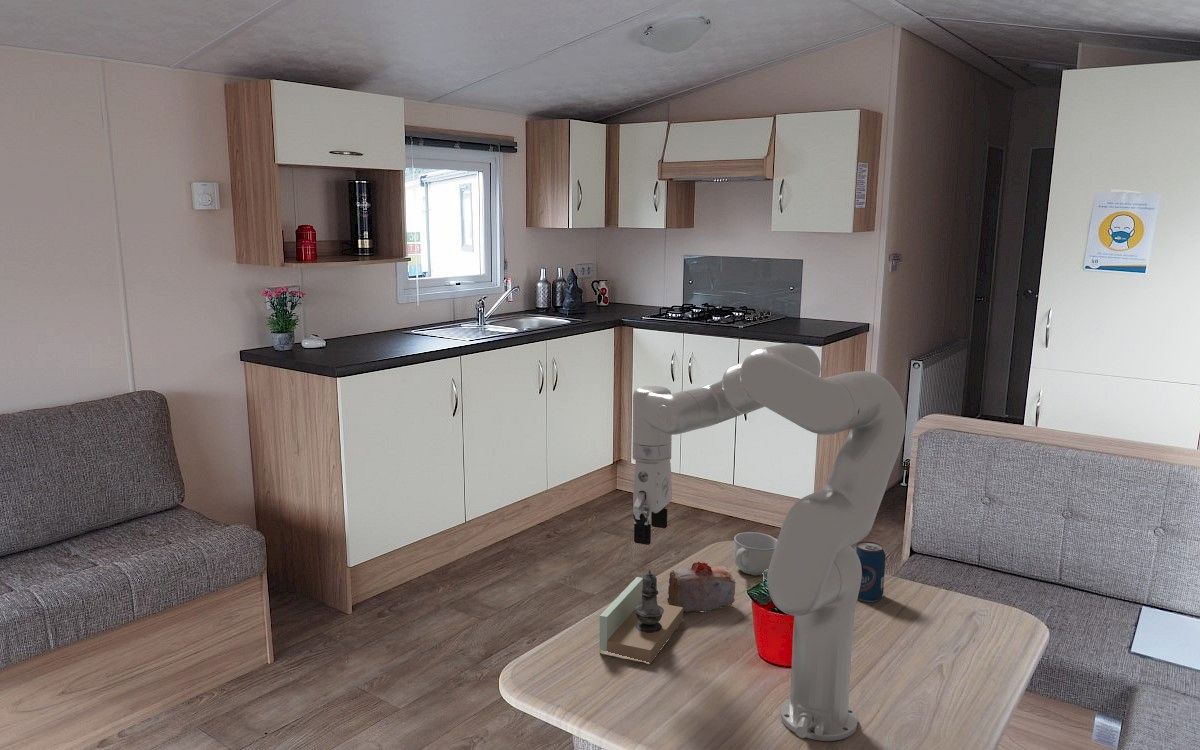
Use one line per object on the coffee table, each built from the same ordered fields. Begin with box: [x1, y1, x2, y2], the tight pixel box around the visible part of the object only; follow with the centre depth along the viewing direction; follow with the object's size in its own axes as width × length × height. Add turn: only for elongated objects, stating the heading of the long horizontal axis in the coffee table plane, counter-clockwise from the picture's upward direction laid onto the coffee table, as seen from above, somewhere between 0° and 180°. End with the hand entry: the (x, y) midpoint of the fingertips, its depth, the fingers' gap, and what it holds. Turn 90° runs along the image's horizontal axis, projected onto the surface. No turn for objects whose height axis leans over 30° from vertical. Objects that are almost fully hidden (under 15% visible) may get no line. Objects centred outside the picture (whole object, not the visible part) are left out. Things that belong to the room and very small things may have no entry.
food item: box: [667, 561, 737, 613], centre depth 187 cm, size 14×8×10 cm, turn 106°
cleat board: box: [599, 576, 684, 663], centre depth 173 cm, size 20×10×8 cm, turn 157°
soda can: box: [853, 540, 887, 603], centre depth 192 cm, size 7×7×12 cm
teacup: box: [733, 531, 778, 576], centre depth 205 cm, size 14×11×8 cm
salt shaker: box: [634, 569, 664, 633], centre depth 171 cm, size 6×6×12 cm
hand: (651, 535), depth 169 cm, fingers open, 9 cm apart
